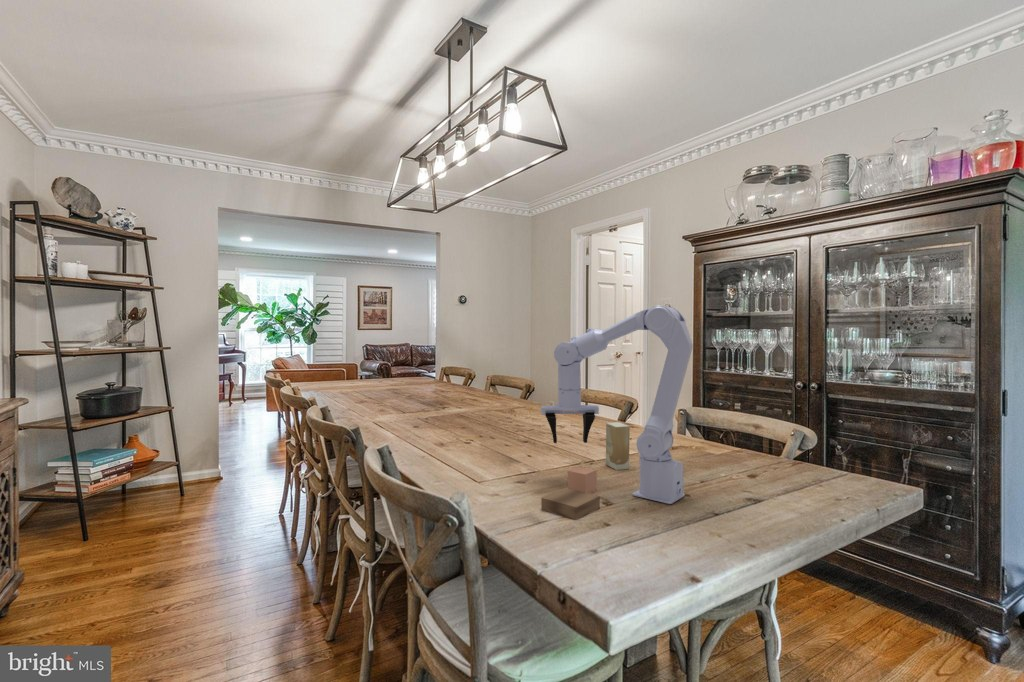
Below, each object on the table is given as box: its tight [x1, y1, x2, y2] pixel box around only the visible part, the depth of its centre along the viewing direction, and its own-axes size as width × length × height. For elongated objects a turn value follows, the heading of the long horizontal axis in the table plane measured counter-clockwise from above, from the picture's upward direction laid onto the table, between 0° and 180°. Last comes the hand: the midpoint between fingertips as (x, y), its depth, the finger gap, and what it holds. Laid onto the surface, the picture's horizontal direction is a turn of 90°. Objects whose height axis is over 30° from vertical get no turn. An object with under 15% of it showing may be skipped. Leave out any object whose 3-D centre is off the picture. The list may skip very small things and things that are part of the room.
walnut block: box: [540, 487, 601, 521], centre depth 106 cm, size 9×9×3 cm
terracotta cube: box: [567, 465, 598, 494], centre depth 118 cm, size 5×5×5 cm
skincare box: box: [605, 421, 631, 471], centre depth 139 cm, size 6×4×12 cm
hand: (570, 442), depth 126 cm, fingers open, 7 cm apart
